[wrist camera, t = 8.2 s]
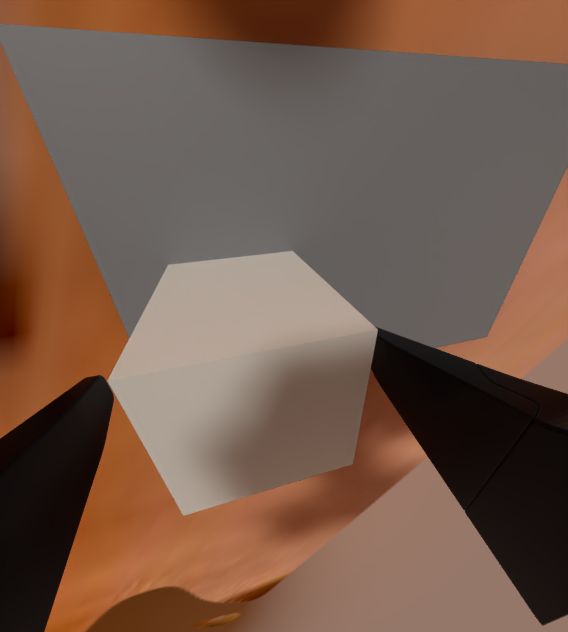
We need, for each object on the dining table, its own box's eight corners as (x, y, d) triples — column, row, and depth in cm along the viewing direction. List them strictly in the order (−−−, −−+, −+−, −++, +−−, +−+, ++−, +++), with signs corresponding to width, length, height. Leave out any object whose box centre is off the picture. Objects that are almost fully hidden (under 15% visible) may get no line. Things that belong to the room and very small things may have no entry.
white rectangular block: (292, 250, 11) (377, 329, 5) (294, 345, 13) (353, 464, 8) (168, 264, 10) (107, 380, 4) (196, 363, 12) (183, 515, 7)
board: (595, 72, 11) (614, 67, 10) (479, 332, 18) (486, 336, 17) (9, 35, 6) (-8, 23, 6) (160, 397, 14) (158, 405, 13)
